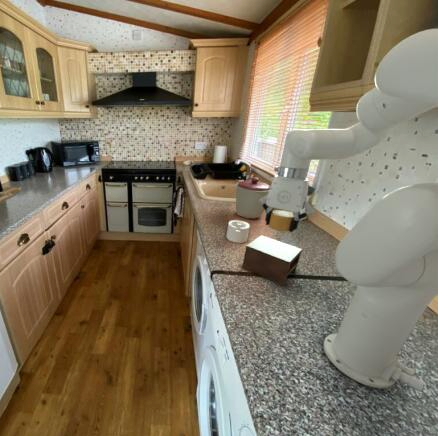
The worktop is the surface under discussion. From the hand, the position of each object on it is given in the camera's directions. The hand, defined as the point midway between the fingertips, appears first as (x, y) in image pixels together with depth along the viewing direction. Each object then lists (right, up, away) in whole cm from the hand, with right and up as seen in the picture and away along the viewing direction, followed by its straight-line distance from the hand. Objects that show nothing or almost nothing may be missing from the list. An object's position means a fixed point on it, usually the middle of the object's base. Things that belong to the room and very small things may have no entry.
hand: (280, 226), depth 79 cm
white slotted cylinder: (-1, -4, +34) cm, 34 cm away
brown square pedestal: (0, -15, +7) cm, 17 cm away
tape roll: (0, 0, 0) cm, 0 cm away
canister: (+12, +4, +54) cm, 56 cm away
